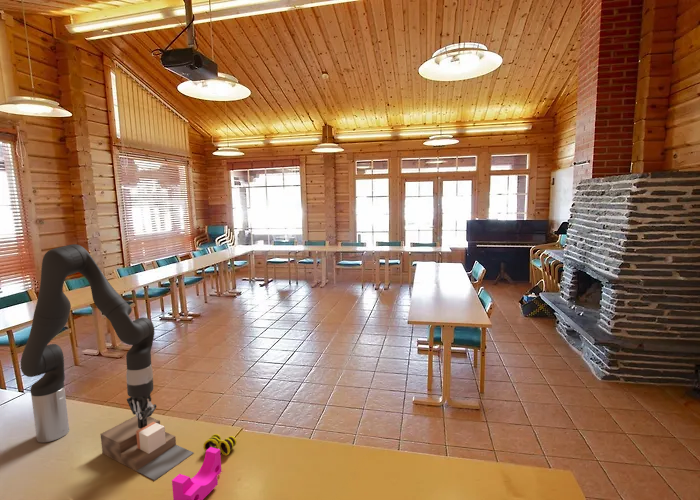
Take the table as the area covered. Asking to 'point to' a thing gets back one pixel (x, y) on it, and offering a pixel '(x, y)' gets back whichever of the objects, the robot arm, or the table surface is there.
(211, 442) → the opera glasses
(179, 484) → the magenta clamp bracket
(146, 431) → the cube
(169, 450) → the stair block
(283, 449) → the table surface
